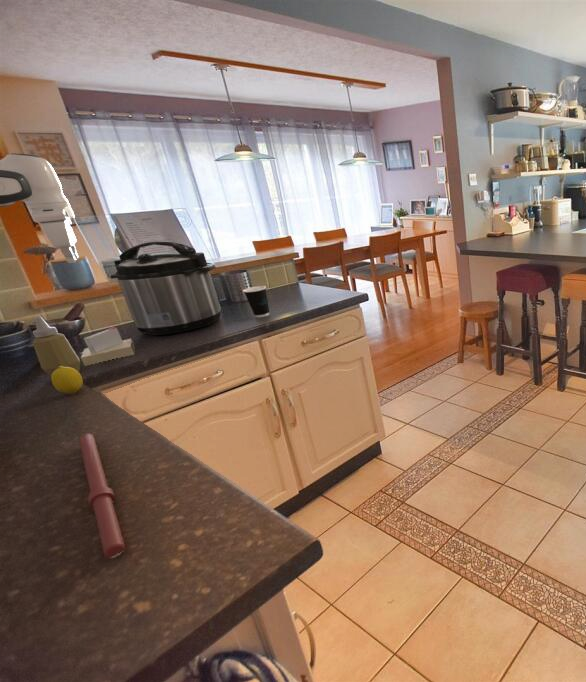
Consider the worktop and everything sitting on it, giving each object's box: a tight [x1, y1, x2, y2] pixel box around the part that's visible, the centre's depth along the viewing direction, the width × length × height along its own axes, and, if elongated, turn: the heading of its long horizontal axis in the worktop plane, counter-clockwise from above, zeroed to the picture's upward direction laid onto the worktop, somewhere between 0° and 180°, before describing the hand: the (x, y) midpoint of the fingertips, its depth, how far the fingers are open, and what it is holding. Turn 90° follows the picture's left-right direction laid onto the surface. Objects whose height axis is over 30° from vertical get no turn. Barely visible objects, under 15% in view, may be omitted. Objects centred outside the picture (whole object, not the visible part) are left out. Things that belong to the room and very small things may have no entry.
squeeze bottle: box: [32, 316, 81, 377], centre depth 125 cm, size 8×8×18 cm
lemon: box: [50, 366, 84, 395], centre depth 114 cm, size 6×6×8 cm
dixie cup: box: [242, 285, 270, 319], centre depth 170 cm, size 8×8×11 cm
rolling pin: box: [78, 433, 126, 559], centre depth 76 cm, size 45×3×3 cm, turn 47°
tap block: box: [79, 338, 136, 367], centre depth 140 cm, size 13×13×3 cm
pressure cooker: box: [109, 241, 222, 336], centre depth 162 cm, size 30×28×32 cm
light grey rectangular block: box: [83, 327, 123, 353], centre depth 139 cm, size 9×2×5 cm, turn 173°
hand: (73, 260), depth 132 cm, fingers open, 8 cm apart
